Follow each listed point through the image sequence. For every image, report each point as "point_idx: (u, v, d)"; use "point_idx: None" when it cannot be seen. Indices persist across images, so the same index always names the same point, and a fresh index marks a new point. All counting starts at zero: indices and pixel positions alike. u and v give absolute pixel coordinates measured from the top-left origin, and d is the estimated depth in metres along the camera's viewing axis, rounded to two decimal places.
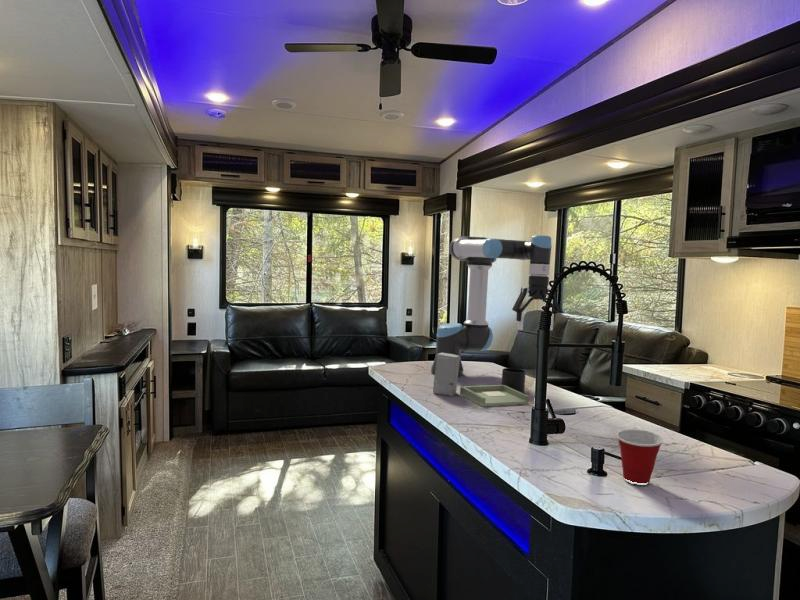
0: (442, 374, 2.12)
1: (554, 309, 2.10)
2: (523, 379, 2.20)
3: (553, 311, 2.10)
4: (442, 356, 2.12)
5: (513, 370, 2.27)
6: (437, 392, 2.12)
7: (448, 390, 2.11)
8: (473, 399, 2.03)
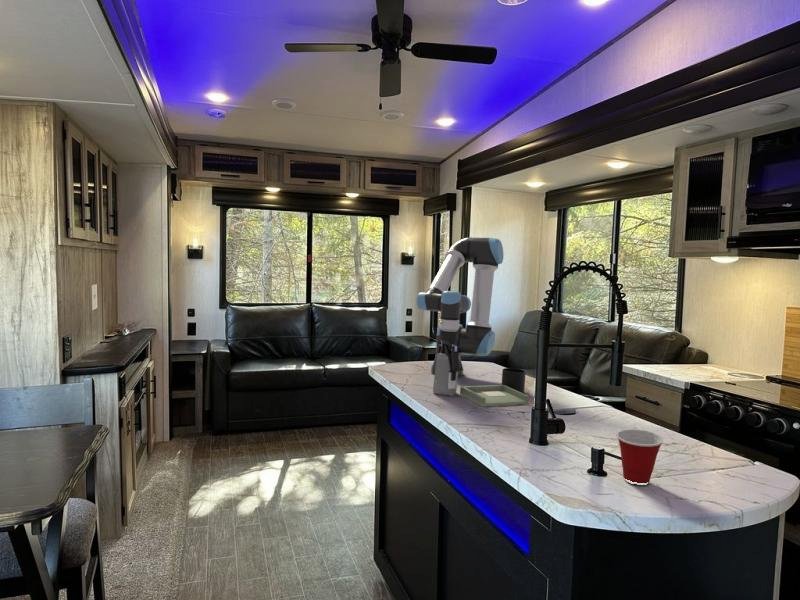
0: (442, 374, 2.12)
1: (451, 368, 2.08)
2: (523, 379, 2.20)
3: (450, 369, 2.08)
4: (442, 356, 2.12)
5: (513, 370, 2.27)
6: (437, 392, 2.12)
7: (448, 390, 2.11)
8: (473, 399, 2.03)
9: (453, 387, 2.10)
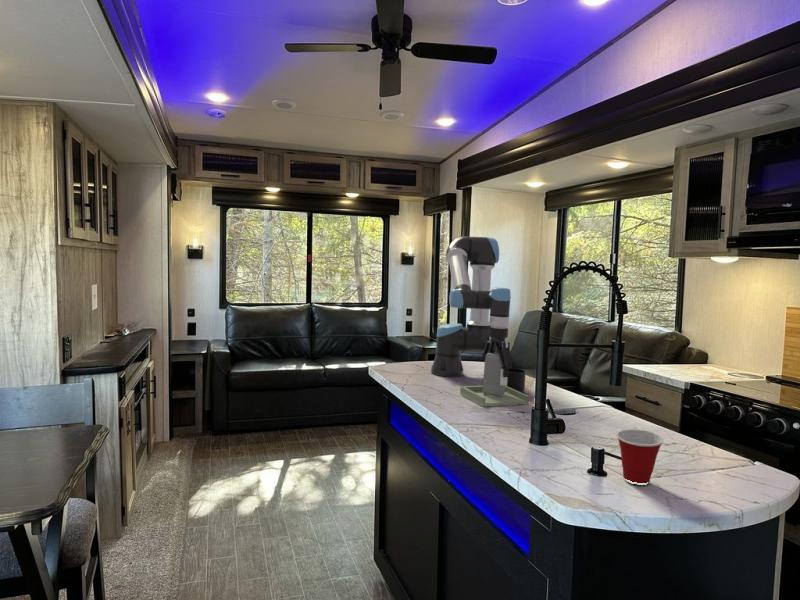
0: (491, 374, 2.09)
1: (503, 364, 2.04)
2: (523, 379, 2.20)
3: (502, 366, 2.05)
4: (492, 356, 2.09)
5: (513, 370, 2.27)
6: (486, 392, 2.10)
7: (498, 390, 2.08)
8: (473, 399, 2.03)
9: (505, 384, 2.06)
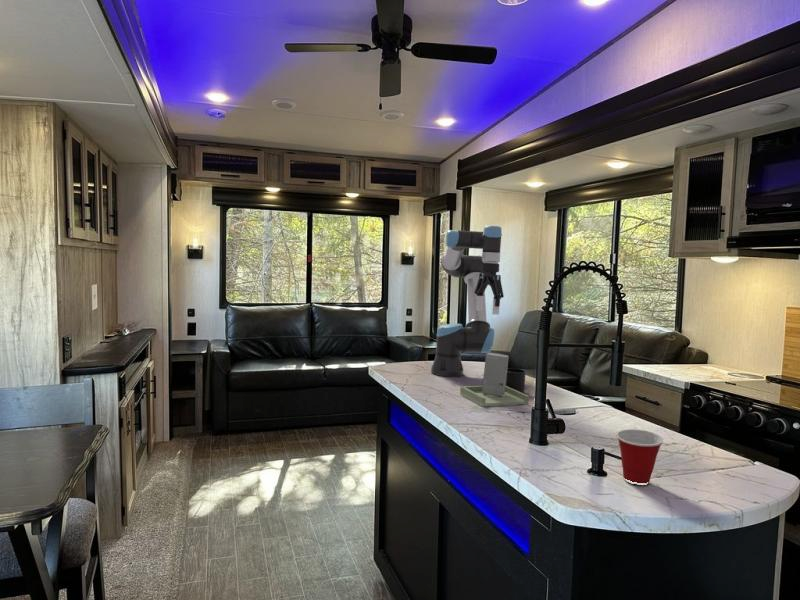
0: (491, 374, 2.09)
1: (495, 294, 2.21)
2: (523, 379, 2.20)
3: (494, 296, 2.21)
4: (491, 356, 2.09)
5: (513, 370, 2.27)
6: (486, 392, 2.10)
7: (498, 391, 2.08)
8: (473, 399, 2.03)
9: (497, 313, 2.22)
